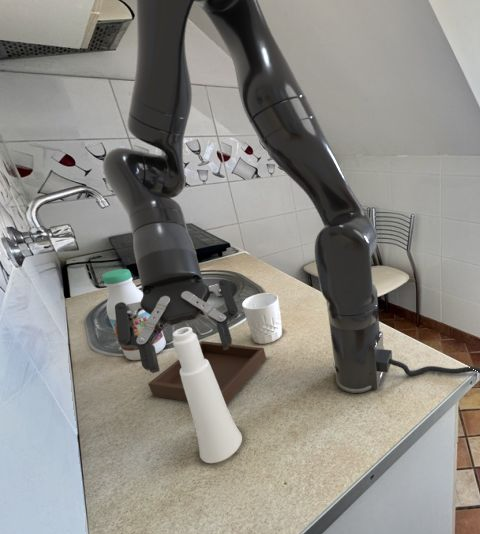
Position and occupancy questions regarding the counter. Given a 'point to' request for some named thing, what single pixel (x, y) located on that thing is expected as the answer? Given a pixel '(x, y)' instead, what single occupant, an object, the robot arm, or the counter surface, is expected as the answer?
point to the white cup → (263, 317)
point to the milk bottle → (128, 294)
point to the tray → (223, 365)
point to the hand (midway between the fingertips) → (192, 359)
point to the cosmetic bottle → (205, 400)
